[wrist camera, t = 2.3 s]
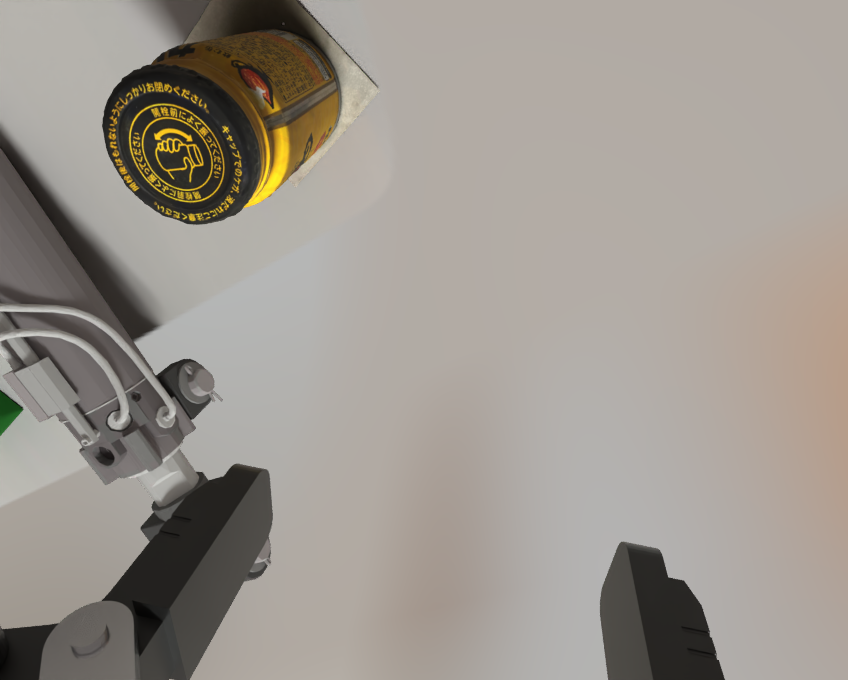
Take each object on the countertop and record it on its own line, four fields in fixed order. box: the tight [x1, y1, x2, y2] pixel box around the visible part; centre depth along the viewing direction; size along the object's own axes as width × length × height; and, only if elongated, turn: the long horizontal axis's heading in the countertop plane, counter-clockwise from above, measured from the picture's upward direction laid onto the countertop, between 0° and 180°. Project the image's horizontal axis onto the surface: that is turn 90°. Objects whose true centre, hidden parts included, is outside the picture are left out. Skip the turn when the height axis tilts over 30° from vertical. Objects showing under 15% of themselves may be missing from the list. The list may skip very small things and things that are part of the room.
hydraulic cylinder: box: [0, 148, 271, 581], centre depth 33 cm, size 7×37×10 cm, turn 25°
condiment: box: [102, 0, 380, 225], centre depth 22 cm, size 7×8×12 cm
